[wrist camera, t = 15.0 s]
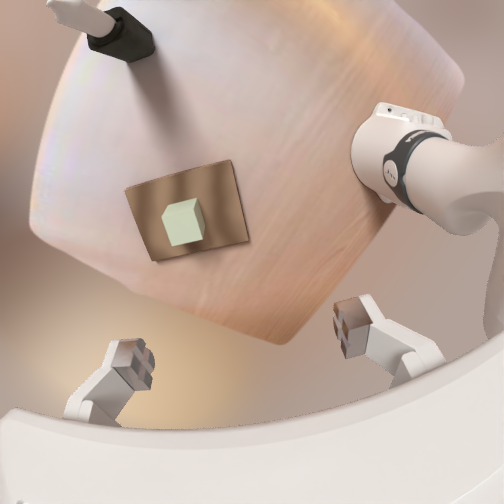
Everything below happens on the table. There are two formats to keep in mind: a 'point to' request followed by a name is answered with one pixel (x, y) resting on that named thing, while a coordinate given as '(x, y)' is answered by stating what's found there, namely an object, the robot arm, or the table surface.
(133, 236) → the table surface
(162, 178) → the serving board
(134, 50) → the black and grey rod
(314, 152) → the table surface
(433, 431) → the robot arm
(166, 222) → the cube
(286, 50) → the table surface
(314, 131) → the table surface
